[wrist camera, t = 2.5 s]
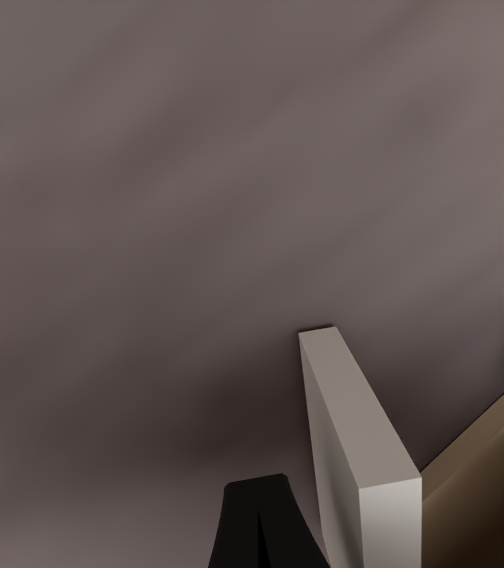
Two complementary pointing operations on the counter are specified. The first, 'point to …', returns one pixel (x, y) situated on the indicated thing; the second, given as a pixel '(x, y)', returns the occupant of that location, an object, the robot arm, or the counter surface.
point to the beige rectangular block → (466, 498)
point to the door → (358, 463)
